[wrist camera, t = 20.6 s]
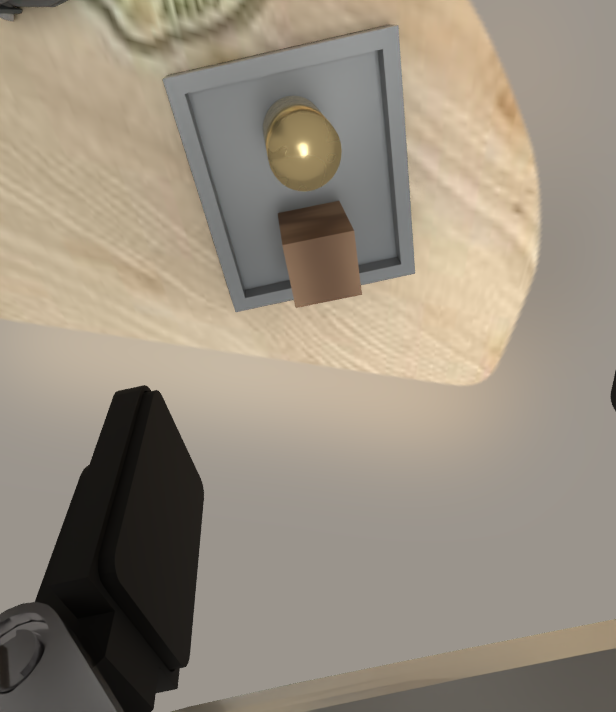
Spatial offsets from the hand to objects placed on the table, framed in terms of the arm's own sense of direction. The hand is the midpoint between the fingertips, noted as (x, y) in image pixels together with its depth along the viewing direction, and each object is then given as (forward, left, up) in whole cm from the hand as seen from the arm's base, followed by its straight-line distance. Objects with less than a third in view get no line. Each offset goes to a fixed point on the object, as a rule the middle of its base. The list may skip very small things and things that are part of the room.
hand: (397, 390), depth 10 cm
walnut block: (0, -7, -28) cm, 28 cm away
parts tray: (0, -3, -28) cm, 29 cm away
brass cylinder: (0, 0, -28) cm, 28 cm away
